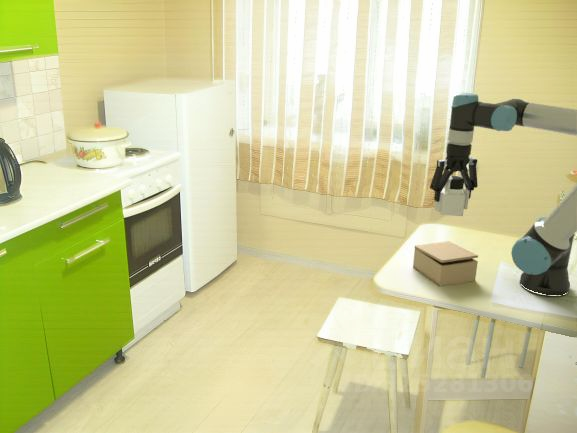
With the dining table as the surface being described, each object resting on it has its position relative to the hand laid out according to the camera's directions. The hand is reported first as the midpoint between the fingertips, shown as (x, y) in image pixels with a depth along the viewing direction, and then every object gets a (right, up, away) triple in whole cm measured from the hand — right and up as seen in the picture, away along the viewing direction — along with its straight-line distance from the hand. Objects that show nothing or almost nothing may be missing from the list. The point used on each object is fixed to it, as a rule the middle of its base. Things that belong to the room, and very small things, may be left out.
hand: (450, 209), depth 202 cm
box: (-1, -22, +7) cm, 23 cm away
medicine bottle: (0, -1, +1) cm, 1 cm away
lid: (-1, -15, +4) cm, 15 cm away
